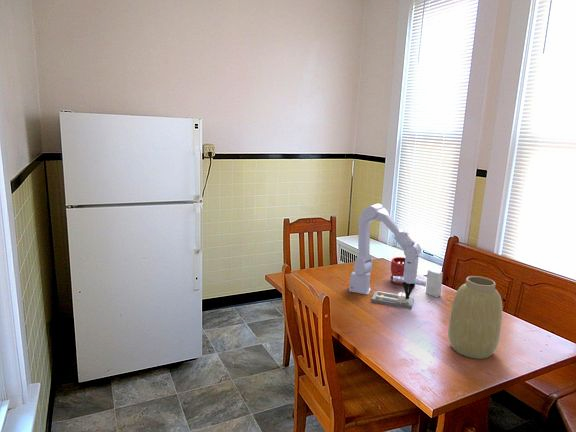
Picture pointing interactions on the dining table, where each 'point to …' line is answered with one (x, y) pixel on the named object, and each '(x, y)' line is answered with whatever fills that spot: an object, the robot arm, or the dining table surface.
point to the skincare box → (434, 282)
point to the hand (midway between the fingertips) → (407, 298)
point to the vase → (476, 318)
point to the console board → (391, 300)
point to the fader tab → (401, 296)
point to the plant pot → (397, 268)
